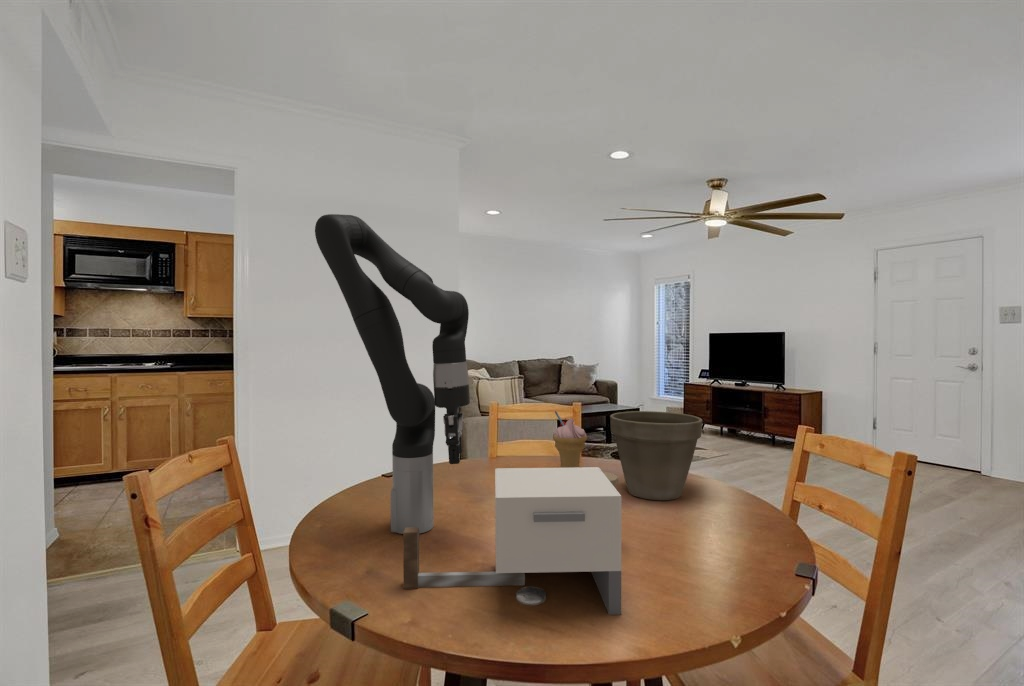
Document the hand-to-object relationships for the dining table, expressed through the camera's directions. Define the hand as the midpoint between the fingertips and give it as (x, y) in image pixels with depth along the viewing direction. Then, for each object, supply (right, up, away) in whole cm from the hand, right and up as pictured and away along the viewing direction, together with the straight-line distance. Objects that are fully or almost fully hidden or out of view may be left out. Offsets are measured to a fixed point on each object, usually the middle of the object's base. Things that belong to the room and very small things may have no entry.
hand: (455, 458), depth 113 cm
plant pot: (+52, -18, +35) cm, 65 cm away
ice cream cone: (+31, -17, +55) cm, 65 cm away
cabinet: (+19, -18, -21) cm, 34 cm away
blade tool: (+4, -18, -19) cm, 27 cm away
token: (+15, -19, -24) cm, 34 cm away
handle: (+32, -18, -3) cm, 37 cm away
